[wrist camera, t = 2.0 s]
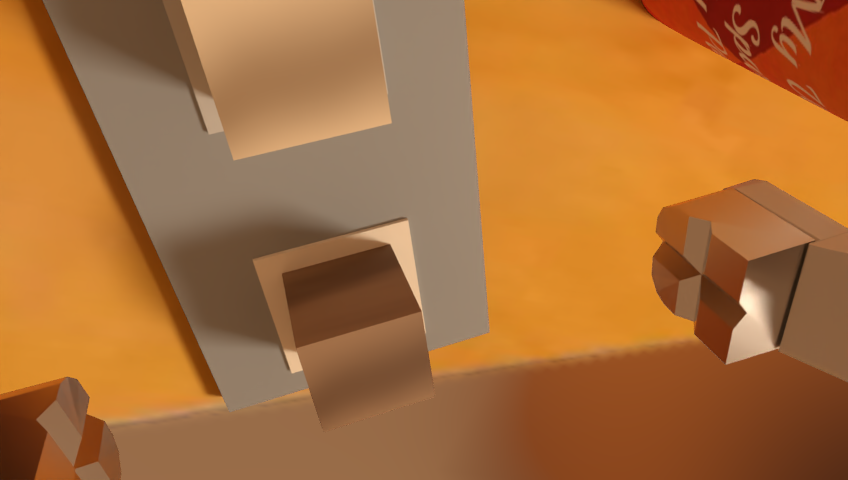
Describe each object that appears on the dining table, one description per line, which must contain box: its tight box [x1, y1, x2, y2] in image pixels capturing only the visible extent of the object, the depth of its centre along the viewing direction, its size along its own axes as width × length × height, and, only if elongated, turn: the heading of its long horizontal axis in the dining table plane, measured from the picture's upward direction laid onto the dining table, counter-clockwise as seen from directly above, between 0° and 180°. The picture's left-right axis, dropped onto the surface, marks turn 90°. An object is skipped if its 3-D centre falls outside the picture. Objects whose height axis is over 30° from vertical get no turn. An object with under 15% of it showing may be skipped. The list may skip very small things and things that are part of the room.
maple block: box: [181, 0, 392, 160], centre depth 20 cm, size 5×5×5 cm
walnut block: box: [282, 244, 435, 432], centre depth 27 cm, size 5×5×5 cm
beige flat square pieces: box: [43, 0, 489, 412], centre depth 26 cm, size 22×14×1 cm, turn 7°
